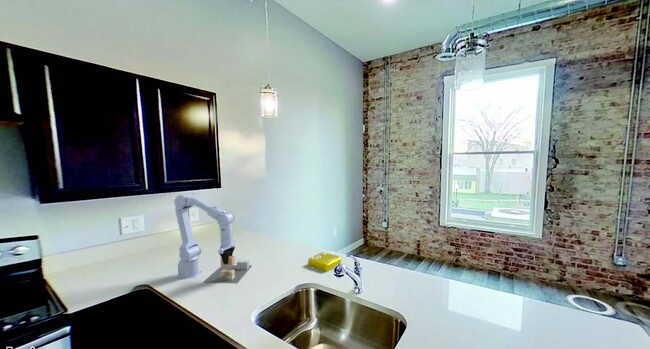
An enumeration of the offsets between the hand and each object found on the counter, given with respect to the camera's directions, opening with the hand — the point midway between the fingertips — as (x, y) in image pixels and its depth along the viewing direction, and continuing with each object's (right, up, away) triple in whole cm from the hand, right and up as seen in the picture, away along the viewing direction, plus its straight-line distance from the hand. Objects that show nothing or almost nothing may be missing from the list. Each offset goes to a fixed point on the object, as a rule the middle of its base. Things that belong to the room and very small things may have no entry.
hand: (227, 262), depth 133 cm
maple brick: (0, -8, 0) cm, 8 cm away
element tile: (+50, -8, +18) cm, 54 cm away
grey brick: (+4, -8, +13) cm, 16 cm away
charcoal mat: (-2, -9, +7) cm, 11 cm away
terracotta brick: (0, -1, 0) cm, 1 cm away
